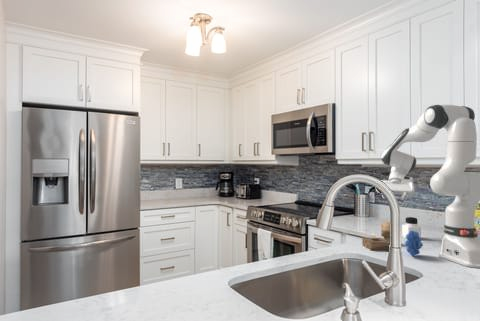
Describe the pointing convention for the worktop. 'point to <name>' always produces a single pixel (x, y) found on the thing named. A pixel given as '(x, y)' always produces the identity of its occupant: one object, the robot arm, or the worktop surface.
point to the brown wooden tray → (376, 244)
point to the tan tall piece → (385, 230)
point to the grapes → (413, 243)
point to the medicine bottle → (410, 227)
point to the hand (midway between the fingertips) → (392, 198)
